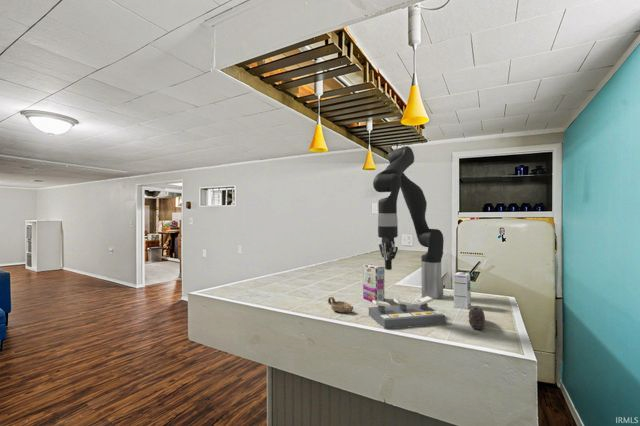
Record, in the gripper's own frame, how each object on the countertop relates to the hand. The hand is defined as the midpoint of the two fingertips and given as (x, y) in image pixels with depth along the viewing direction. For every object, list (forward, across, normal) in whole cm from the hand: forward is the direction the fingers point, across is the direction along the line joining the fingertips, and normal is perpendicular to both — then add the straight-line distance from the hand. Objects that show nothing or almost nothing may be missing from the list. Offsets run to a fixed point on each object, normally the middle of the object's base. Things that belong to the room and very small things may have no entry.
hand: (388, 269), depth 125 cm
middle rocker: (+13, -1, -6) cm, 14 cm away
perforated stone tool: (+20, -15, -28) cm, 37 cm away
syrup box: (+20, +7, -38) cm, 43 cm away
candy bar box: (+19, +25, -4) cm, 32 cm away
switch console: (+19, -3, -6) cm, 20 cm away
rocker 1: (+13, 0, +3) cm, 13 cm away
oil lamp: (+19, +14, +16) cm, 28 cm away
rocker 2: (+13, -1, -15) cm, 20 cm away
